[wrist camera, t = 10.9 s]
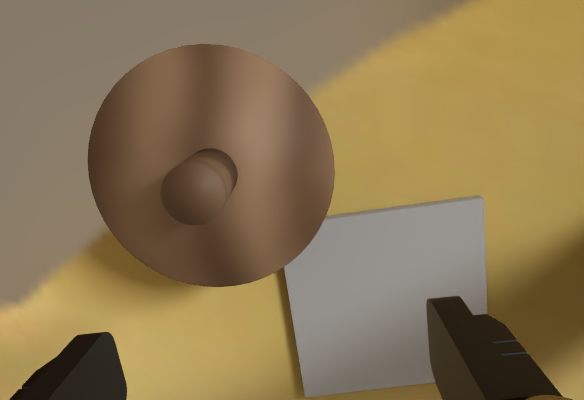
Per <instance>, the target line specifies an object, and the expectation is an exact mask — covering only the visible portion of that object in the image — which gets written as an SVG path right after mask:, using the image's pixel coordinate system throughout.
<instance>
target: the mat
mask: <svg viewBox="0 0 584 400" xmlns="http://www.w3.org/2000/svg"><path fill="white" fill-rule="evenodd" d="M284 270H285V276H286V283H287V289H288V295H289V301H290V307H291V313H292V320H293V326H294V332H295V338H296V344H297V350H298V357H299V363H300V369H301V375H302V381H303V387H304V394H305V398H306V397H315V396H323V395H332V394H340V393H349V392H357V391H366V390H375V389H383V388H392V387H400V386H409V385H417V384H426V383H434V382H435V379H434V376H433V372H432V368H431V363H430V356H429V341H428V326H427V310H426V303H427V299H430V298H440V297H449V296H460V297H461V298H462V300H463V301H464V303H465V304H466V305H467V307H468V308H469V310H470V311H471V313H472V314H473V315H480V314H487V286H486V255H485V224H484V198H483V197H481V196H472V197H465V198H458V199H450V200H443V201H435V202H428V203H421V204H413V205H406V206H399V207H391V208H384V209H377V210H369V211H362V212H355V213H347V214H340V215H333V216H326V217H325V219H324V221H323V223H322V225H321V227H320V229H319V231H318V232H317V234H316V235H315V237H314V238H313V240H312V241H311V242H310V244H309V245H308V246H307V247H306V248H305V249H304V250H303V251H302V253H301V254H300V255H298V256H297V257H296V258H295V259H294V260H293V261H291V262H290V263H289V264H288V265H286V266H285V267H284Z"/></svg>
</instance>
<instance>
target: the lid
mask: <svg viewBox="0 0 584 400" xmlns="http://www.w3.org/2000/svg"><path fill="white" fill-rule="evenodd" d="M88 170H89V179H90V184H91V189H92V193H93V196H94V199H95V201H96V204H97V207H98V209H99V211H100V213H101V215H102V217H103V219H104V221H105V223H106V224H107V226H108V227H109V229H110V230H111V232H112V233H113V235H114V236H115V237H116V238H117V240H118V241H119V242H120V243H121V244H122V245H123V247H125V248H126V249H127V250H128V251H129V252H130V253H131V254H132V255H133V256H134V257H135V258H137V259H138V260H140V261H141V262H142V263H144V264H145V265H146V266H148V267H150V268H151V269H153V270H155V271H157V272H159V273H160V274H163V275H165V276H167V277H170V278H172V279H174V280H178V281H181V282H185V283H188V284H193V285H199V286H209V287H225V286H236V285H241V284H246V283H250V282H253V281H256V280H259V279H262V278H264V277H266V276H269V275H271V274H273V273H275V272H277V271H278V270H280V269H281V268H283V267H285V266H286V265H288V264H289V263H290V262H291V261H293V260H294V259H295V258H296V257H297V256H298V255H300V254H301V253H302V251H303V250H304V249H305V248H306V247H307V246H308V245H309V244H310V242H311V241H312V240H313V238H314V237H315V235H316V234H317V232H318V231H319V229H320V227H321V225H322V223H323V221H324V219H325V217H326V214H327V211H328V208H329V206H330V203H331V198H332V193H333V188H334V175H335V169H334V155H333V150H332V145H331V140H330V137H329V134H328V131H327V128H326V125H325V123H324V121H323V119H322V117H321V115H320V113H319V111H318V109H317V108H316V106H315V105H314V103H313V102H312V100H311V99H310V97H309V96H308V94H307V93H306V92H305V91H304V90H303V89H302V88H301V86H300V85H299V84H298V83H297V82H296V81H295V80H294V79H292V78H291V77H290V76H289V75H288V74H287V73H285V72H284V71H283V70H282V69H280V68H278V67H277V66H276V65H274V64H273V63H271V62H269V61H267V60H265V59H263V58H261V57H259V56H257V55H255V54H253V53H250V52H247V51H244V50H241V49H238V48H233V47H228V46H223V45H209V44H198V45H187V46H182V47H178V48H173V49H169V50H166V51H164V52H161V53H159V54H156V55H154V56H152V57H150V58H148V59H146V60H145V61H143V62H141V63H139V64H138V65H137V66H135V67H134V68H133V69H132V70H130V71H129V72H128V73H126V74H125V75H124V76H123V77H122V78H121V79H120V80H119V81H118V82H117V83H116V85H115V86H114V87H113V88H112V90H111V91H110V92H109V94H108V95H107V97H106V98H105V99H104V101H103V103H102V105H101V107H100V109H99V111H98V113H97V115H96V118H95V121H94V124H93V127H92V131H91V135H90V141H89V149H88Z"/></svg>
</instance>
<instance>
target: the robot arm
mask: <svg viewBox="0 0 584 400" xmlns="http://www.w3.org/2000/svg"><path fill="white" fill-rule="evenodd" d="M426 310H427V326H428V341H429V356H430V363H431V368H432V372H433V376H434V379H435V382H436V385H437V387H438V389H439V392H440V394H441V396H442V399H443V400H572V399H569V398H565V397H563V396H562V395H561V394H560V393H559V391H558V390H557V389H556V388H555V387H554V385H553V384H552V383H551V382H550V380H549V379H548V378H547V377H546V375H545V374H544V373H543V372H542V370H541V369H540V368H539V367H538V365H537V364H536V363H535V362H534V361H533V359H532V358H531V357H530V356H529V354H526V351H525V349H524V348H523V347H522V346H521V344H520V343H519V342H517V341H516V338H515V337H514V336H513V334H512V333H511V332H510V331H509V330H508V328H507V327H506V326H505V325H504V324H502V323H501V322H499V321H497V320H496V319H494V318H492V317H491V316H489V315H487V314H480V315H473V314H472V313H471V311H470V310H469V308H468V307H467V305H466V304H465V303H464V301H463V300H462V298H461V297H460V296H449V297H440V298H430V299H427V303H426ZM126 397H127V386H126V381H125V377H124V374H123V370H122V366H121V363H120V359H119V355H118V352H117V348H116V344H115V341H114V338H113V336H112V335H111V334H110V333H109V332H101V333H91V334H82V335H77V336H76V337H74V338H73V340H72V341H71V342H70V343H69V344H68V345H67V346H66V347H65V348H64V349H63V351H62V352H61V353H60V354H59V355H58V356H57V357H56V358H54V359H53V360H51V361H50V362H48V363H47V364H45V365H44V366H43V367H41V368H40V369H38V370H37V371H36V372H35V373H34V374H33V375H32V376H31V377H30V378H29V379H28V380H27V381H26V382H25V383H24V384H23V385H22V389H19V390H18V391H17V392H16V393H15V394H14V395H13V396H12V397H11V398H10V400H126Z"/></svg>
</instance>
